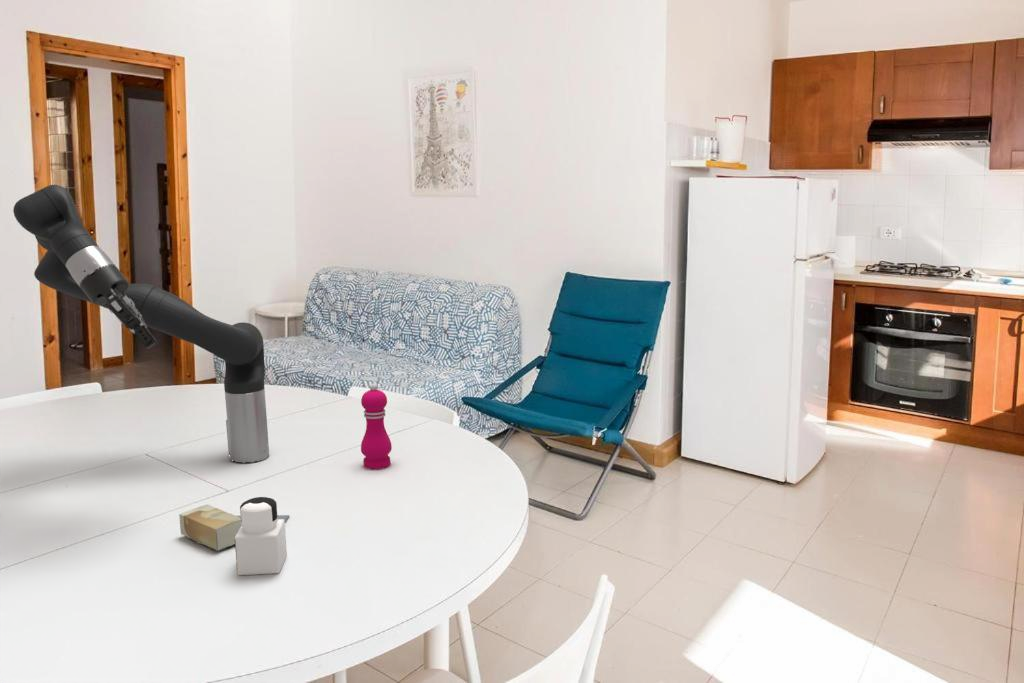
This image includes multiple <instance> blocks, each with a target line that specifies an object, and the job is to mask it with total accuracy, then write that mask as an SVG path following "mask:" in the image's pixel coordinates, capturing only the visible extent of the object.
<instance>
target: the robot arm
mask: <svg viewBox="0 0 1024 683" xmlns="http://www.w3.org/2000/svg"><path fill="white" fill-rule="evenodd" d="M12 210H13V215H14V218H15V219H16V221H17V222H18V223H19V225H20V226H21V227H22V228H23V230H26V231H27V232H28V233H30V234H31V235H34V237H35V239H36V242H38V245H40V246H41V247H42V248H43V249H45V250H46V252H45V253H44V255H43V257H42V258H41V260H40V262H39V263H38V265H37V267H36V268H35V269H34V274H33V275H34V277H35V279H36V280H37V281H38V282H40V284H43V285H44V286H46V287H47V288H51V289H53V290H55V291H57V292H61V293H63V294H66V295H68V296H71V297H75V298H77V299H80V300H82V301H86V302H88V303H91V304H93V305H94V306H95V305H96V306H100V307H102V308H104V309H107V310H108V311H109V312H110V313H111V314H114V315H115V317H116V318H117V319H118V321H119V322H120V323H121V324H123V325H124V326H125V328H126V329H128V330H129V331H130V332H131V333H133V334H134V335H135V336H136V337H137V339H138V341H140V342H141V344H142V345H143V346H144V347H145V348H146V349H151V348H153V347H154V346H155V345H157V344H158V340H157V339H156V338H155V336H154V335H153V334H152V333H151V332H150V330H149V329H148V328H150V329H153V330H156V331H158V332H161V333H164V334H166V335H168V336H171V337H174V338H177V339H179V340H182V341H185V342H188V343H189V344H190V343H191V344H193V345H195V346H197V347H199V348H201V349H203V350H205V351H207V352H209V353H210V354H212V355H213V356H216V357H218V358H220V359H221V360H223V361H224V362H225V369H224V370H225V371H224V372H225V373H224V380H223V387H224V389H223V390H224V397H225V398H224V399H225V408H226V409H225V411H226V420H225V426H226V437H227V438H226V439H227V449H228V450H227V451H228V456H229V455H230V457H229V460H230V459H231V460H233V461H236V462H251V463H256V462H255V461H257V462H261V461H263V460H266V459H267V458H269V457H270V449H269V447H270V446H269V445H270V444H269V432H268V431H269V430H268V429H269V428H268V419H267V403H266V390H265V375H266V374H265V372H266V369H265V349H264V348H265V346H264V338H263V335H262V333H261V331H260V329H258V327H257V326H256V325H254V324H252V323H249V322H244V321H243V322H237V323H234V324H229V323H226V322H223V321H220V320H218V319H214V318H212V317H210V316H208V315H205V314H204V313H202V312H201V311H199V310H198V309H196V308H195V307H194V306H192V305H191V304H190V303H188V302H187V301H185V300H184V299H182V298H180V297H179V296H177V295H176V294H173V293H172V292H169V291H168V290H167V291H166V290H164V289H162V288H160V287H157V286H155V285H154V284H149V283H143V282H141V283H129V281H128V279H127V278H126V277H125V275H124V274H123V273H122V271H120V269H119V268H118V267H117V266H116V264H115V263H114V261H113V260H112V259H111V258H110V256H108V254H107V253H106V252H105V251H104V250H103V249H102V248H101V247H100V246H99V245H98V243H97V242H96V241H95V240H94V238H93V237H92V236H91V235H90V233H89V231H88V230H87V228H86V227H85V225H84V224H83V222H82V219H81V217H80V215H79V212H78V210H77V207H76V204H75V201H74V198H73V197H72V195H71V193H70V192H69V191H68V189H66V188H65V187H63V186H62V185H58V184H50V185H49V184H48V185H47V186H44V187H43V188H41V189H39V190H37V191H35V192H32V193H31V194H28V195H27V196H24V197H22V198H21V199H18V201H16V202H15V204H14V206H13V209H12ZM231 460H230V461H231ZM260 460H261V461H260ZM233 461H232V462H233ZM236 462H235V463H236Z"/></svg>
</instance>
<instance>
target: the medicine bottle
mask: <svg viewBox="0 0 1024 683" xmlns="http://www.w3.org/2000/svg"><path fill="white" fill-rule="evenodd" d="M239 511H240V512H239V513H240V516H241V525H242V526H241V528H240V529H239V531H238V533H237V534H236V536H235V544H234V546H235V548H234V549H235V559H236V572H237V575H238V576H253V575H254V576H255V575H274V574H275V575H276V574H277V575H278V574H279V573H281V570H282V567H283V565H284V563H285V561H286V558H287V556H288V550H287V539H286V537H287V536H286V523H285V521H284V519H278V518H277V515H278V507H277V501H276V500H275V499H274V498H271V497H266V496H257V497H253V498H249V499H247V500H245V501H244V502H242V503H241V505H240V506H239Z"/></svg>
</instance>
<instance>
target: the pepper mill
mask: <svg viewBox="0 0 1024 683" xmlns="http://www.w3.org/2000/svg"><path fill="white" fill-rule="evenodd" d="M360 403H361V406H362V408H363V409H364V411H363V414H364V415H363V417H364V419H365V421H366V428H365V432H364V435H363V438H362V441H361V444H360V451H361V454H362V455H363V456H364V458H363V467H364V468H365V469H368V470H374V469H376V470H382V469H386V468H388V467H390V466H389V465H391V456H389V455H390V453H391V451H392V448H393V447H392V441H391V438H390V436H389V434H388V433H387V431H386V427H385V422H384V420H385V417H386V410H385V407H386V406H387V405H388V398H387V395H386V393H385V392H384V391H382V390H380V389H378V385H377V384H376V383H371V384H370V385H369V390H367V391H365V392H364V393H363V394H362V396H361V399H360Z"/></svg>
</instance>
